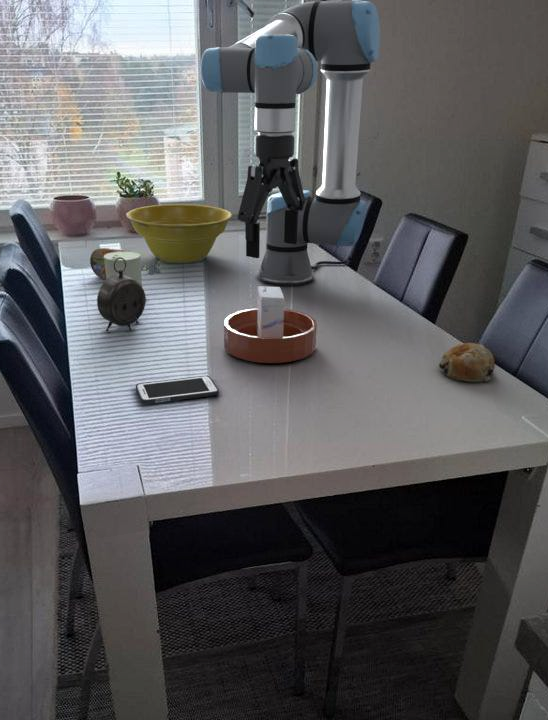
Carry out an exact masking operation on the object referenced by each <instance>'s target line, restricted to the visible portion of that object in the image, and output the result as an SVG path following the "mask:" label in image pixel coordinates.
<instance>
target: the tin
mask: <svg viewBox="0 0 548 720" xmlns="http://www.w3.org/2000/svg"><path fill="white" fill-rule="evenodd" d="M119 251H129V252H133V251H132V250H129V249H123V248H122V249H121V248H111V247H99V248H96V249H95V250H93V251H92V252H91V255H90V258H89V264H90V268H91V271H92V273H94V274H95V275H96V276H97V277H98V278H100V279H102V280H107V279H106V270H105V262H104V255H105V254H108V253H112V252H119Z"/></svg>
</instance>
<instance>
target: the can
mask: <svg viewBox="0 0 548 720" xmlns="http://www.w3.org/2000/svg"><path fill="white" fill-rule="evenodd" d="M129 251H130V250H129ZM129 251H119V252H112V253H108V254H105V255H104V262H105V270H106V279H105V280H107V279H108V278H110V277H112V276H114V275H119V273H118V272H116V271H115V269H114V262H115V260H116V259H117V258H119V257H122V258H123V259H124V260H125V261H126V268H125V270H124V271H123V273H122V274H123V275H125V276H127V277H129V278H132V279H134V280H136V281H137V282H139V283H140V284H141V286H142V287H143V279H142V266H141V265H142V263H141V254H140V253H139V252H135V251H132V252H129ZM123 259H118V260H117V261H116V263H115V268H116V270H117V271H119V270H123V269H124V267H125V262H124V260H123Z"/></svg>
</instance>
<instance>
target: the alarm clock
mask: <svg viewBox="0 0 548 720" xmlns="http://www.w3.org/2000/svg"><path fill="white" fill-rule="evenodd" d="M118 259H123V258H122V257H119V258H117V259H116V260H115V262H114V269H115V271H116V272H118V273H119V275H114V276H112V277H110V278H108V279H105V281H104V282H103V283H102V284H101V286H100V288H99V290H98V292H97V298H96V305H97V311H98V312H99V314H100V316H101V317H102V319H104V320H105V321H107V322H108V323H107V327H106V329H105V332H107V333H108V332H109V330H110V328H111V327H112V325H114V326H115V325H116V326H118V327H127V329H128V331H129V332H131V331H132V327H131V325H133V324H134V323H135V324H139V319H140V318H141V316H142V315H143V314H144V310H145V307H146V302H147V299H146V296H147V295H146V292H145V290H144V287H143V285H142V286H141V284H140V283H139V282H137V281H136V280H134V279H132V278H129V277H127V276H125V275H123V274H122V273H123V271H124V270H125V268H126V261H125V260H124V259H123V260H124V262H125V267H124V269H123V270H119V271H117V270H116V268H115V263H116V261H117V260H118Z"/></svg>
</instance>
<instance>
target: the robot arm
mask: <svg viewBox="0 0 548 720" xmlns="http://www.w3.org/2000/svg"><path fill="white" fill-rule="evenodd" d="M380 47H381V28H380V18H379V13H378V9H377V7H376V5H375V4H374V3H373V2H372V1H369V0H368V1H367V0H327V1H326V0H325V1H323V0H322V1H317V0H316V1H315V0H313V1H307V2H306V1H305V2H302V3H299V4H296V5H294V6H291V7H288V8H286V9H284V10H282V11H280V12H278V13H277V14H274V15H273V16H272V17H270V19H269V20H268V21H267V22H266V24H265V26H264V27H262V28H260V29H258V30H256V31H255V32H253V33H252V34H250V35H248V36H246V37H244V38H243V39H241V40H239V41H237V42H236V43H234V44H232V45H230V46H228V47H220V46H217V47H210V48H209V47H208V48H207V49H205V50H204V52H203V54H202V56H201V60H200V77H201V81H202V84H203V86H204V88H205V89H206V91H209V92H213V93H220V94H224V93H226V94H227V93H230V94H231V93H232V94H233V93H235V94H242V93H243V94H248V93H249V94H254V131H255V132H256V133H257V134H256V135H255V136H254V156H255V157H257V158H258V165H253V164H249V165H248V166H247V178H246V183H245V186H244V190H243V194H242V198H241V202H240V206H239V210H238V214H237V220H238V221H240V222H241V223H245V225H244V226H245V227H244V228H245V229H244V230H245V231H244V233H245V235H244V236H245V256H246V257H248V258H253V259H259V258H260V243H261V242H260V241H261V239H260V238H261V237H260V236H261V235H260V233H261V227H260V226H261V223H260V222H258V221H259V218H260V215H261V213H262V210H263V208H264V205H265V204H266V212H265V215H266V221H265V222H266V227H265V228H266V231H265V233H266V234H265V253H264V256H263V258H262V261H261V265H260V268H259V272H258V277H259V278H258V279H259V280H260V281H261V282H263V283H265V284H270V285H273V286H300V285H304V284H307V283H310V282H312V280H313V270H317V268H318V266H319V265H345V264H347V263H348V262H349V260H352V256H351V255H350V254H347V255H346V258H345V260H341V261H334V260H333V261H332V260H331V261H330V260H320V261H317V262H315V264H314V265H313V266H312V265H311V261H310V257H309V252H308V244H313V245H315V244H316V245H326V246H334V247H335V246H336V247H338V248H339V247H352V246H354V245H355V244H357V242H358V240H359V238H360V235H361V234H362V230H363V227H364V223H365V219H366V214H367V202H366V201H364V199H361V191H360V189H358V187H357V185H356V179H357V166H358V152H359V140H360V139H359V138H360V127H361V126H360V125H361V111H362V97H363V84H364V78H365V77H366V76H367V75H368V74H369V73H370V71H371V65H372V64H373V63H374V62H375V63H376V61H378V58H379V54H380ZM317 62H320V72H321V73H322V75H323V76H324V77H325V79H326V89H325V90H326V93H325V113H324V114H325V115H324V135H323V136H324V137H323V155H322V156H323V157H322V160H323V161H322V179H321V180H322V181H321V183H322V184H321V186H320V187H319V188H318V189H317V190H316V192H315V197H313V196H312V194H311V191H310V190H309V189H308V190H306V189H303V184H302V180H301V176H300V175H301V174H300V170H299V159H298V158H294V155H295V136H294V134H293V133H294V132H295V131H296V106H297V105H296V102H297V101H296V100H297V95H301V94H302V93H304V92H307V91H308V90H309V89H311V88H312V87H313V85H314V84H315V81H316V79H317V77H318V64H317ZM276 188H278V190H279V192H277V193H273V194H271V195H270V196H269V194H270V193H271V192H272V191H273V189H276ZM268 196H269V197H268ZM266 200H267V203H266Z"/></svg>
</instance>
